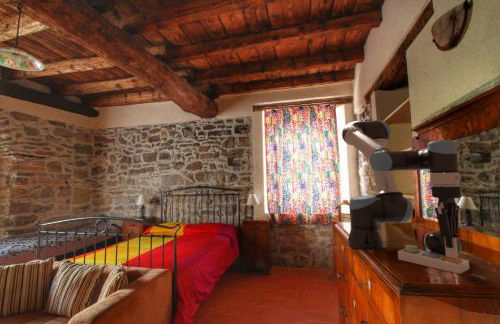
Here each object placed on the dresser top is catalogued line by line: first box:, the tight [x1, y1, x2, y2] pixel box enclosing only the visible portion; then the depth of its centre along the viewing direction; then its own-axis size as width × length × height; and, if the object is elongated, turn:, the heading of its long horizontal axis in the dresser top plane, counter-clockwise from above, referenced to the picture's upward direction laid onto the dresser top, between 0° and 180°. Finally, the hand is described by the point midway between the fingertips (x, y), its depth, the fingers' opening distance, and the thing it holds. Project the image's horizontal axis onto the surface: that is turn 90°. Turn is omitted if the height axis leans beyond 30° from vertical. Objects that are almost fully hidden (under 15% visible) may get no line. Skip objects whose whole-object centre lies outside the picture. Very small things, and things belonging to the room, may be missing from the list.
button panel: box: [397, 248, 470, 274], centre depth 81 cm, size 18×8×3 cm, turn 30°
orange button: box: [444, 256, 461, 264], centre depth 75 cm, size 4×4×2 cm
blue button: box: [423, 250, 438, 259], centre depth 81 cm, size 4×4×2 cm
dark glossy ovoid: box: [423, 229, 462, 256], centre depth 85 cm, size 10×10×15 cm
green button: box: [404, 244, 419, 254], centre depth 86 cm, size 4×4×2 cm
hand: (452, 257), depth 76 cm, fingers closed
